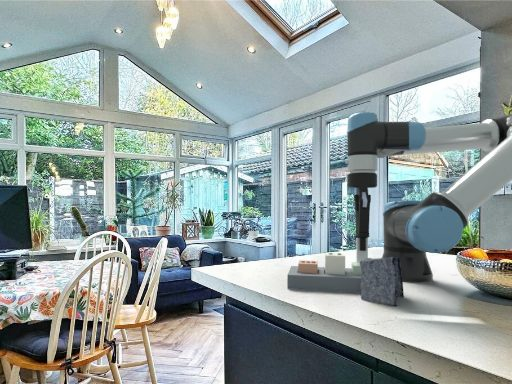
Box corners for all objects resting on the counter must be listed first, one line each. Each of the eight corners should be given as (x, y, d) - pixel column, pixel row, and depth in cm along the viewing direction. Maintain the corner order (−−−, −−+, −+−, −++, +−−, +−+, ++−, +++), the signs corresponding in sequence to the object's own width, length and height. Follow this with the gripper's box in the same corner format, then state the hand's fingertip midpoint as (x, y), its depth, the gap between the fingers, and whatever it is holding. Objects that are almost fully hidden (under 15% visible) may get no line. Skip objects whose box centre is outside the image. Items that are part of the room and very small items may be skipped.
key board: (378, 285, 95) (378, 269, 95) (386, 298, 84) (386, 279, 84) (291, 281, 100) (291, 266, 100) (287, 292, 88) (287, 274, 88)
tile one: (370, 281, 92) (370, 262, 93) (373, 286, 88) (373, 265, 88) (351, 280, 93) (351, 261, 93) (353, 285, 88) (353, 264, 89)
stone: (413, 311, 79) (404, 308, 71) (370, 312, 84) (356, 309, 76) (405, 259, 84) (396, 251, 76) (365, 263, 89) (351, 255, 81)
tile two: (343, 271, 94) (343, 252, 94) (345, 275, 89) (345, 255, 89) (325, 270, 95) (325, 251, 95) (325, 274, 90) (325, 254, 90)
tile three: (317, 279, 95) (317, 260, 95) (317, 283, 90) (317, 263, 90) (299, 278, 96) (299, 259, 96) (298, 282, 91) (298, 262, 91)
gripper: (345, 174, 98) (345, 258, 98) (349, 170, 85) (349, 266, 85) (373, 174, 97) (373, 259, 96) (381, 170, 84) (381, 268, 83)
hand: (362, 262), depth 91 cm, fingers closed
